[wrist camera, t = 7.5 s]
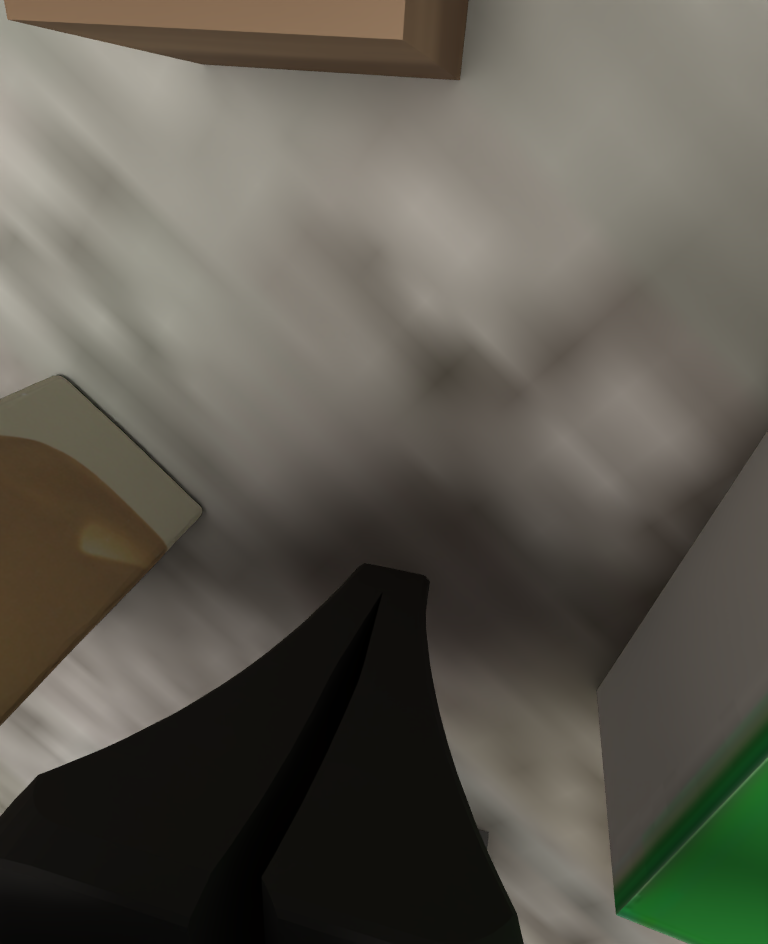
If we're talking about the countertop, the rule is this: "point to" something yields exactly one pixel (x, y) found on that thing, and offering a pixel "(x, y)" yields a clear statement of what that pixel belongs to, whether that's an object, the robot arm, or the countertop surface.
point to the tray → (696, 736)
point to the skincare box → (71, 527)
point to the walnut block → (272, 32)
